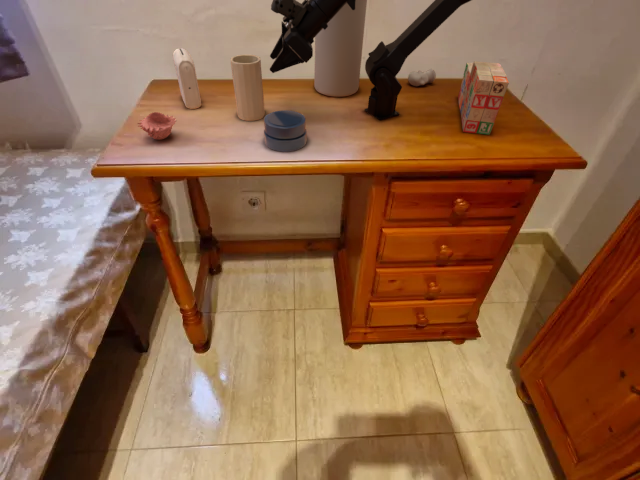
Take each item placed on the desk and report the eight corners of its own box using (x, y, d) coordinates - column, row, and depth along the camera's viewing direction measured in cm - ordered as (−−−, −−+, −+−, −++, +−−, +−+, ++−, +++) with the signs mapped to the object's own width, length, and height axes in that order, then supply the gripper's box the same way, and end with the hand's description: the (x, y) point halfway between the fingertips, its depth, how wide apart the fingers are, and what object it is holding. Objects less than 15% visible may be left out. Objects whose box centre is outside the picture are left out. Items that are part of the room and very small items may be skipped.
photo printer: (203, 107, 95) (193, 55, 86) (186, 110, 94) (174, 57, 85) (196, 93, 102) (187, 43, 93) (180, 95, 100) (169, 44, 92)
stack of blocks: (457, 97, 104) (470, 49, 96) (480, 99, 103) (495, 51, 95) (462, 132, 88) (479, 78, 80) (490, 135, 88) (509, 81, 79)
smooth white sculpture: (409, 91, 109) (404, 80, 112) (435, 89, 111) (429, 78, 113) (413, 78, 106) (408, 67, 108) (440, 77, 107) (434, 65, 109)
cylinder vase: (334, 78, 113) (340, -23, 96) (367, 89, 107) (379, -16, 90) (305, 88, 106) (305, -18, 89) (337, 101, 100) (344, -10, 83)
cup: (257, 107, 96) (252, 52, 87) (269, 117, 92) (265, 61, 83) (233, 112, 93) (225, 57, 84) (244, 123, 89) (237, 65, 80)
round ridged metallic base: (293, 128, 88) (293, 105, 84) (314, 145, 82) (314, 121, 78) (257, 137, 84) (255, 114, 80) (276, 155, 78) (275, 131, 75)
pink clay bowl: (144, 130, 85) (136, 106, 81) (181, 127, 86) (175, 104, 83) (140, 147, 79) (131, 122, 76) (179, 144, 81) (173, 119, 77)
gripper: (291, -32, 81) (245, 25, 87) (295, -17, 67) (240, 49, 74) (326, 10, 87) (280, 61, 93) (336, 32, 73) (281, 89, 80)
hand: (271, 64), depth 85 cm, fingers open, 9 cm apart
